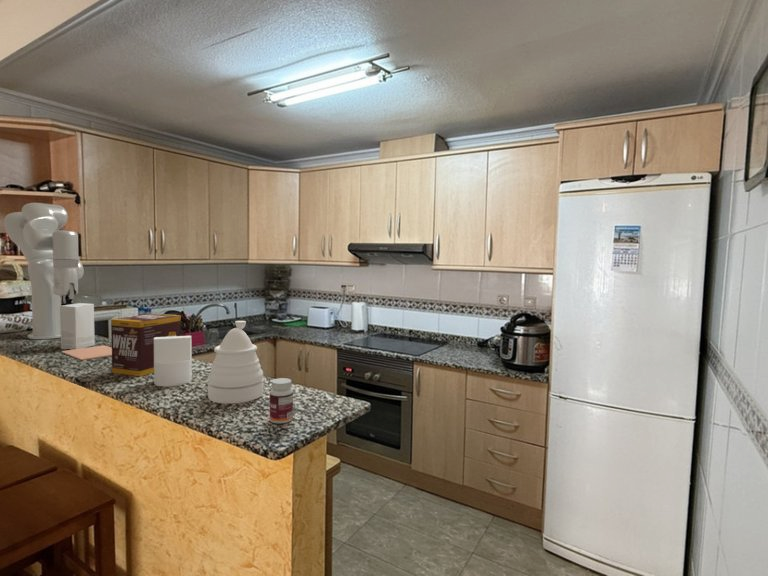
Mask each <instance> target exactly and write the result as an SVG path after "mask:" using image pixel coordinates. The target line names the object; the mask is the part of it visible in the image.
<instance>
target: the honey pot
mask: <svg viewBox="0 0 768 576" xmlns="http://www.w3.org/2000/svg"><path fill="white" fill-rule="evenodd" d="M246 324H247V321H246V320H235V321H234V325H235V326H236V327H234V328H232V329H230V330H228V332H227V333H226V335H225V336H224V338H223V339H222V341H221V342H220V345H217V346H216V347H214V349H213V350H214V353H216V355H215V358H214V360H213V361H212V366H211V368H210V372H209V373H208V375H207V379H208V380H207V398H208V399H209V400H210V401H211V402H213V403H214V402H215V403H218V404H219V403H220V404H239V403H240V404H241V403H246V402H251V401H254V400H256V399H258V398H261V397H262V396H263V394H264V370H263V369H262V367H261V363H260V358H259V357H258V355H257V353H256V351H257V350H258V347H257V345H255V344H253V343H252V341H251V339H250V337H249V336H248V335H247V333H246V332H245V331H244V330H243V329H245V327H246Z"/></svg>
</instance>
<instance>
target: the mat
mask: <svg viewBox="0 0 768 576" xmlns="http://www.w3.org/2000/svg"><path fill="white" fill-rule="evenodd" d="M60 352H61V354H64V353H65V354H64V355H67V356H69V355H70V357H73V358H74V357H75V358H74V359H76V360H79V361H86V360H91V359H92V360H93V359H98V358H99V359H100V358H104V357H112V346H111V347H110V346H108V345H96V346H90V347H86V348H81V349H74V350H61V351H60Z"/></svg>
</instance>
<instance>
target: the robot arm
mask: <svg viewBox="0 0 768 576" xmlns="http://www.w3.org/2000/svg"><path fill="white" fill-rule="evenodd" d="M68 216H69V215H68V212H67V210H66V208H65V207H64V206H62V205H60V204H52V203H43V202H30V203H29V202H28V203H26V204H24V205H23V206H22V208H21V211H17V212H16V211H14V212H11V213H8V214H7V215H6V216H5V217H4V220H3V224H4V229H5V233H6V235H7V236H8V237H9V238H10V240H11V241H12V242H13V243H14V245H16V246H17V247H18V248H19V250H20V252H21V253H22V254H23V256H24V258H25V260H26V262H28V264H27V272H28V273H27V274H28V277H29V281H30V282H29V283H30V287H31V288H30V290H31V291H30V292H31V312H32V313H31V315H32V319H31V320H32V321H31V322H32V333H29V334H27V339H30V340H50V339H51V340H52V339H58V338H59V339H61V326H60V306H62V305H70V304H74V300H75V296H77V295H78V293H79V280H80V279H82V278H83V276H84V273H85V269H84V266H83V263H82V261H81V260H80V258H79V234H78V233H77V232H76V231H73V230H64V229H63V230H61V229H62V228H63V227H64V226H65V225H66V224H67V223H68V218H69V217H68Z"/></svg>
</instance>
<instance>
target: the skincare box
mask: <svg viewBox="0 0 768 576" xmlns="http://www.w3.org/2000/svg"><path fill="white" fill-rule="evenodd" d="M60 326H61V337H60V349H61V350H66V349H70V350H74V349H81V348H89V347H95V345H96V342H95V341H96V340H95V304H94V303H84V302H77V303H73V304H70V305H62V306H60Z"/></svg>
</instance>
